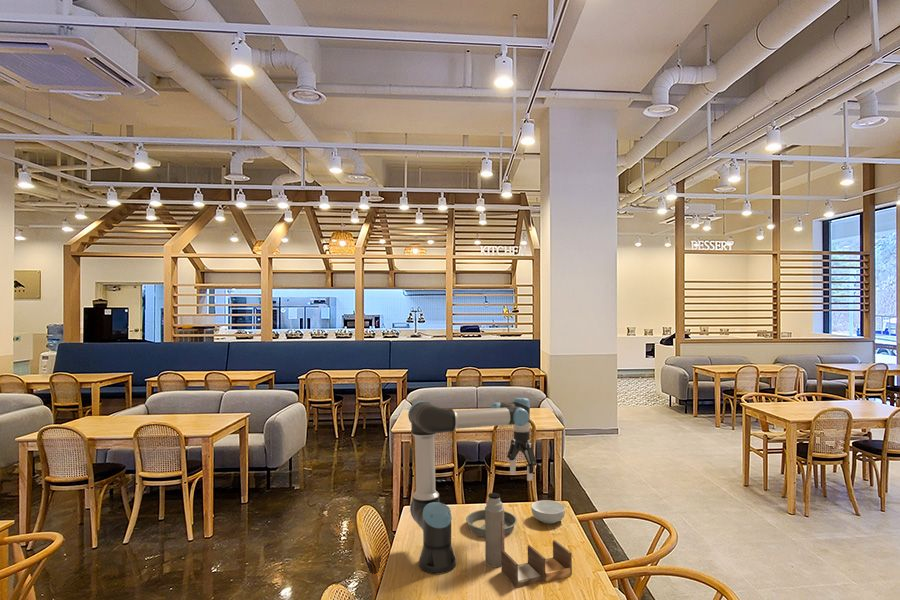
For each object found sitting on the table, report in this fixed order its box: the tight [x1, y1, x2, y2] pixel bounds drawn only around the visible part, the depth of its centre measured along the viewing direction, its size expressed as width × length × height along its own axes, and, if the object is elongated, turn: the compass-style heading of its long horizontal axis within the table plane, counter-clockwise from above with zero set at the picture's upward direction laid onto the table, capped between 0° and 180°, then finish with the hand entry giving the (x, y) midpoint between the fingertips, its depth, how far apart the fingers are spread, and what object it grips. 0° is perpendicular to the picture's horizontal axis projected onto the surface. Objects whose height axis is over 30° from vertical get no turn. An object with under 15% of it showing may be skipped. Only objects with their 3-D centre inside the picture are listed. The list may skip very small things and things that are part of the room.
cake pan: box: [465, 509, 518, 538], centre depth 240 cm, size 25×25×4 cm
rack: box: [500, 539, 573, 588], centre depth 197 cm, size 25×13×8 cm, turn 111°
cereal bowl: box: [530, 499, 566, 525], centre depth 247 cm, size 17×17×7 cm
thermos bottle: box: [484, 492, 506, 568], centre depth 206 cm, size 8×8×28 cm
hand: (521, 477), depth 233 cm, fingers open, 13 cm apart
